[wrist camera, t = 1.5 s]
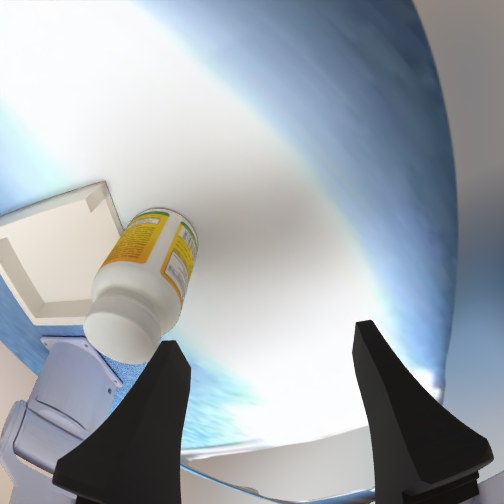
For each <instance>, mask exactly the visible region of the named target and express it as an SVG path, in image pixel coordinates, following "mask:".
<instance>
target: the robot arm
mask: <svg viewBox="0 0 504 504" xmlns="http://www.w3.org/2000/svg"><path fill="white" fill-rule="evenodd" d="M40 340H41V342H42V343H43V344H44V345H45V347H46V348H47V349H48V350H49V352H50V353H49V355H48V357H47V359H46V361H45V363H44V365H43V368H42V370H41V372H40V374H39V376H38V379H37V381H36V383H35V385H34V388H33V390H32V392H31V395H30V397H29V400H28V401H27V402H25V401H23V400H20V401H16V402H15V403H14V405H13V406H12V408H11V410H10V412H9V415H8V417H7V419H6V422H5V424H4V427H3V430H2V434H1V438H0V463H1V465H2V466H3V468H4V469H5V471H6V472H7V474H8V476H9V477H10V479H11V480H12V482H13V484H14V487H13V490H12V494H11V499H10V503H9V504H181V492H180V452H181V438H182V431H183V425H184V420H185V414H186V409H187V404H188V398H189V392H190V381H191V367H190V365H189V363H188V362H187V360H186V358H185V356H184V355H183V353H182V351H181V349H180V347H179V346H178V344H177V342H176V340H172V341H162V342H161V343H160V345H159V347H158V348H157V350H156V351H155V353H154V354H153V356H152V358H151V359H150V361H149V362H148V364H147V365H146V367H145V369H144V370H143V372H142V373H141V375H140V376H139V378H138V379H137V381H136V382H135V384H134V385H133V387H132V388H131V389H130V391H129V392H128V393H127V395H126V396H125V397H124V399H123V400H122V401H121V403H120V404H119V405H118V407H117V408H116V409H115V410H114V411H113V412H112V414H111V415H110V416H109V412H110V409H111V405H112V402H113V398H114V395H115V392H116V388H117V387H120V388H121V387H123V383H122V382H121V381H120V380H119V379H118V377H117V376H116V375H115V374H114V373H113V371H112V370H111V369H110V368H109V366H108V365H107V364H106V363H105V361H104V360H103V359H102V358H101V356H100V355H99V354H98V352H97V351H96V350H95V348H94V347H93V346H92V345H91V343H90V342H89V341H88V339H86V338H84V337H41V339H40ZM352 355H353V361H354V367H355V373H356V378H357V381H358V385H359V389H360V392H361V396H362V400H363V403H364V407H365V411H366V415H367V418H368V423H369V427H370V434H371V441H372V450H373V460H374V472H375V504H504V470H503V471H502V472H500V473H498V474H496V475H495V476H493V477H491V478H489V479H487V480H485V481H483V482H481V483H479V484H477V480H476V479H478V478H479V473H478V470H480V469H481V468H483V467H485V466H486V465H488V464H489V463H491V462H492V461H493V459H494V457H493V453H492V450H491V447H490V445H489V443H488V440H487V439H486V438H484V437H483V436H481V435H479V434H478V433H476V432H475V431H473V430H472V429H470V428H469V427H468V426H466V425H465V424H464V423H462V422H461V421H459V420H458V419H457V418H456V417H454V416H453V415H452V414H451V413H450V412H449V411H447V410H446V409H445V408H444V407H443V406H442V405H440V404H439V403H438V402H437V401H436V400H435V399H434V398H433V397H432V396H431V395H430V394H429V393H428V392H427V391H426V390H425V389H424V388H423V387H422V386H421V385H420V384H419V382H418V381H417V380H416V379H415V378H414V377H413V375H412V374H411V373H410V372H409V371H408V370H407V368H406V367H405V366H404V365H403V363H402V362H401V361H400V359H399V358H398V357H397V356H396V354H395V353H394V352H393V350H392V349H391V347H390V346H389V345H388V343H387V342H386V340H385V339H384V338H383V336H382V335H381V333H380V332H379V330H378V328H377V327H376V325H375V324H374V322H373V321H372V320H366V321H360V322H356V326H355V334H354V343H353V350H352ZM108 416H109V417H108ZM15 454H16V455H18V456H19V457H21V458H23V459H24V460H26V461H28V462H30V463H32V464H34V465H35V466H37V467H39V468H41V469H43V470H45V471H47V472H49V473H51V474H53V479H52V478H50V477H47V476H46V475H44V474H42V473H40V472H38V471H36V470H34V469H32V468H30V467H28V466H27V465H25V464H23V463H22V462H20V461H19V460H18V459H17V457H16V456H15Z"/></svg>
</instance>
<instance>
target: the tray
mask: <svg viewBox="0 0 504 504" xmlns="http://www.w3.org/2000/svg"><path fill="white" fill-rule="evenodd" d="M123 232H124V230H123V228H122V225H121V223H120V220H119V218H118V215H117V212H116V210H115V207H114V205H113V202H112V199H111V196H110V194H109V191H108V188H107V185H106V182H105V181H103V182H99V183H96V184H92V185H89V186H86V187H83V188H79V189H76V190H73V191H70V192H67V193H64V194H61V195H58V196H55V197H52V198H49V199H46V200H43V201H40V202H38V203H35V204H32V205H29V206H27V207H24V208H21V209H19V210H16V211H14V212H11V213H9V214H6V215H4V216H1V217H0V274H1V276H2V277H3V279H4V281H5V282H6V284H7V285H8V287H9V289H10V290H11V292H12V293H13V295H14V297H15V298H16V300H17V301H18V303H19V304H20V306H21V307H22V309H23V310H24V311H25V313H26V314H27V316H28V317H29V319H30V320H31V321H32V323H33V324H34V325H84V320H85V318H86V316H87V314H88V312H89V310H90V307H91V305H92V304H93V301H92V296H91V287H92V282H93V280H94V277H95V275H96V274H97V272H98V270H99V269H100V267H101V266H102V264H103V262H104V261H105V259H106V258H107V256H108V255H109V253H110V252H111V250H112V249H113V247H114V246H115V244H116V243H117V241H118V240H119V238H120V237H121V235H122V234H123Z"/></svg>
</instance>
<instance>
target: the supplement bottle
mask: <svg viewBox="0 0 504 504" xmlns="http://www.w3.org/2000/svg"><path fill="white" fill-rule="evenodd" d="M197 249H198V242H197V237H196V234H195V231H194V229H193V228H192V226H191V225H190V223H189V222H188V221H187V220H186V219H185V218H183V217H182V216H181V215H179V214H177V213H175V212H173V211H170V210H166V209H151V210H147V211H144V212H142V213H140V214H138V215H137V216H136V217H135V218H134V219H133V220H132V221H131V222H130V224H129V225H128V227H127V228H126V230H125V231H124V232H123V234H122V235H121V237H120V238H119V240H118V241H117V243H116V244H115V246H114V247H113V249H112V250H111V252H110V253H109V255H108V256H107V258H106V259H105V261H104V262H103V264H102V266H101V267H100V269H99V270H98V272H97V274H96V275H95V277H94V280H93V282H92V287H91V296H92V301H93V304H92V305H91V307H90V310H89V312H88V314H87V316H86V318H85V320H84V326H83V329H84V333H85V335H86V338H87V339H88V341H89V342H90V343H91V345H92V346H93V347H94V348H95V349H97V350H98V351H99V352H100V353H102V354H103V355H105V356H107V357H109V358H110V359H113V360H115V361H118V362H121V363H126V364H143V363H146V362H148V361H150V359H151V358H152V356H153V354H154V353H155V351H156V350H157V348H158V345H159V342H160V340H161V336H162V335H164V334H166V333H167V332H169V331H170V330H171V329H172V328H173V327H174V326H175V324H176V323H177V321H178V319H179V316H180V313H181V309H182V305H183V301H184V298H185V294H186V290H187V287H188V283H189V279H190V276H191V272H192V269H193V265H194V261H195V258H196V254H197Z"/></svg>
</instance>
